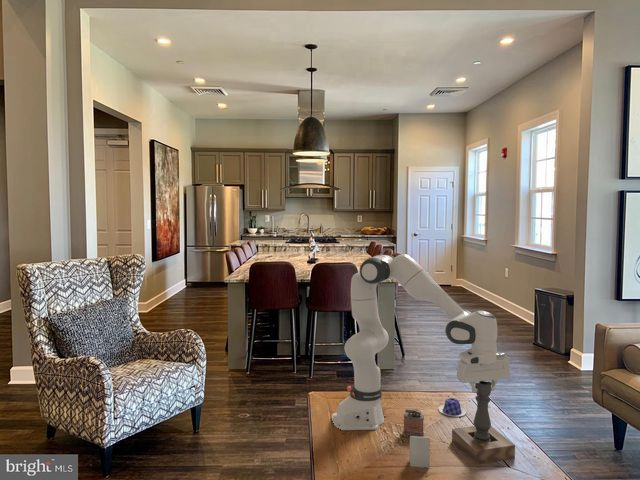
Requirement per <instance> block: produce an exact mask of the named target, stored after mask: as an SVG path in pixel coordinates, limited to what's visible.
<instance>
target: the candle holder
mask: <svg viewBox="0 0 640 480" xmlns="http://www.w3.org/2000/svg"><path fill="white" fill-rule="evenodd" d="M491 382H492V381H491ZM491 382H490V380H487V381H478V382H476V383H475V384H474V386H475V387H476V388H478V393H475V394H476V396H475V400H476V402H477V403H476V405H477V406H476V412H475V415H474V419H473V426H475V427H476V431H475V432H474V437H473V439H475V440H476V441H477V442H478V443H479V444H480V443H487V442H491V439H490V435H489V433H488V430H489V429H490V427H491V426H492V423H491V419H490V418H491V417H490V413H489V403H490V402H491V398H490V397H489V396H490V395H491V393H492V391H491Z"/></svg>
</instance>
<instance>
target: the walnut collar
mask: <svg viewBox="0 0 640 480" xmlns="http://www.w3.org/2000/svg"><path fill="white" fill-rule="evenodd" d="M475 431H476V427H475V426H474V425H471V426H465V427H463V426H462V427H455V428H452V429H451V434H452V435H451V441H452V443H453V444H454V445H455V446H456V447H457V448H458V449H459V450H460V451H461V452H462V453H463V454H464V455H465V456H466V457H467V458H468V459H469V460H470V461H471V462H472V463H473V464H474V465H480V464H481V465H482V464H488V463H493V462H500V461H505V460H507V461H508V460H513V459H515V458H516V444H515V443H513V442H512V441H511V440H509V438H507V437H506V436H504V435H503V434H502V433H501V432H500V431H498V430H497V429H496V428H495V427H493V426H492V425H491V427H490V429H489V430H488V433H489V435H490V439H491V442H487V443H480V444H479V443H478V442H477V441H476V440H475V439H473V437H474V432H475Z"/></svg>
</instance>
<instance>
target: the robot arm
mask: <svg viewBox="0 0 640 480" xmlns="http://www.w3.org/2000/svg"><path fill="white" fill-rule="evenodd" d="M390 279H394V280H395V281H397V282H398V284H399V285H400V286H401V287H402V288H403V290H405V291H406V293H407V294H408V295H410V296H411V297H413V299H414V300H420V301H425V302H426V301H427V302H429V303H432V304H435V305H436V306H437V307H438V308H439V309H440V310H441V311H442V312H443V313H444V315H446V316H448V318H449V319H450V320H449V322H448V323H447V324H446V326H445V330H444V331H445V335H446V338H447V339H448V340H449V341H450V342H451V343H453V344H454V345H471V347H470V348H468V349H466V350H464V351H462V352H460V353H459V354H458V359H459V361H458V363H457V367H456V379H457V380H458V381H460V382H461V383H462V384H469V385H470V387H471V392H472V393H473V394H476V393H478V388H476V387H475V383H476V382H478V381H491V392H494V391H495V387H496V386H497V384H498V382H499V381H498V380H504V379H508V378H509V377H510V375H511V372H510V363H509V362H510V356H509V355H508V354H507V353H504V352H503V353H498V347H497V339H498V321H497V318H496V317H495V315H494V314H493V313H491V312H488V311H485V310H475V311H474V312H471V311H469V310H466V309H465V308H463V307H462V306H461V305H460V304H459V303H458V302H457V301H456V300H455V299H454V298H453V297H451V295H450V294H448V292H447V291H445V290H444V288H442V287H441V286H440V285H439V284H438V283H437V282H436V281H435V280H434V278H433V277H432V276H431V275H430V274H429V273H428V271H426V270H425V268H424V267H422V266H421V264H419V263H418V262H417V261H416V260H415V259H414V258H413V257H411V256H410V255H408V254H406V253H402V254H398V255H396V256H395V257H394V256H393V255H390V254H377V255H374V256H372V257H369V258H366V259H365V260H364V261H362V263H361V265H360V266H359V272H356V273H354V274H353V275H352V277H351V281H350V303H351V304H350V305H351V316H352V318H353V319H354V320H355V321H356V322H357V325H358V328H359V332H357V333H355V334H352V336H351V337H350V338H348V339H347V340H346V341H345V344H344V352H345V355H346V357H347V358H348V359H350V360H351V363H352V366H353V367H352V368H353V373H354V374H353V375H354V376H353V377H354V385H353V386H352V387H351V385H348V386H346V390H347V392H348V393H349V395H348V396H347V397H346V398H345V399H343V400H342V401H341V402H339V403H338V404H337V409H336V412H334V413H332V415H331V421H333V422H332V424H333V423H334V424H333V425H334V427H336V429H338V428H339V429H338V430H340V429H341V430H340V431H369V430H371V431H372V430H375V431H376V430H377V429H378V428H379V426H380V425H382V424H383V423H384V422H385V417H384V414H383V408H382V393H383V392H382V386H381V368H380V367H379V366H378V365H377V364H376V360H375V359H376V358H375V356H376V354H377V353H380V352H382V351H383V350H384V349H385V348H386V346H387V345H388V343H389V339H390V337H389V333H388V331H387V330H386V329H385V328H384V327H383V325H382V324H383V323H382V322H381V319H380V315H379V307H378V296H377V287H378V284H379V283H384V282H387V281H388V280H390Z"/></svg>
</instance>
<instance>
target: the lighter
mask: <svg viewBox="0 0 640 480" xmlns="http://www.w3.org/2000/svg"><path fill="white" fill-rule="evenodd" d="M404 412H405V413H403V431H402V432H403V434H404V435H407V436H416V437H425V436H424V434H425V433H424V419H425V417H424V415H422V411H421V410H417V409H416V408H413V409H412V408H411V409H410V408H405V411H404Z"/></svg>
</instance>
